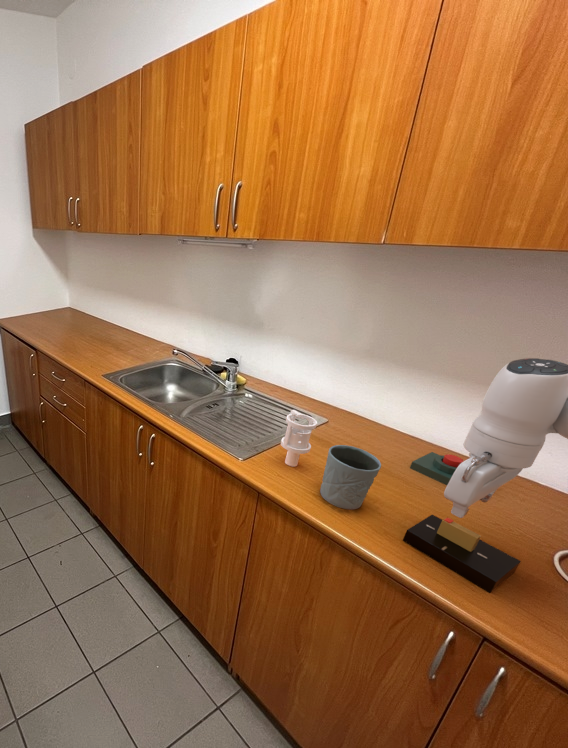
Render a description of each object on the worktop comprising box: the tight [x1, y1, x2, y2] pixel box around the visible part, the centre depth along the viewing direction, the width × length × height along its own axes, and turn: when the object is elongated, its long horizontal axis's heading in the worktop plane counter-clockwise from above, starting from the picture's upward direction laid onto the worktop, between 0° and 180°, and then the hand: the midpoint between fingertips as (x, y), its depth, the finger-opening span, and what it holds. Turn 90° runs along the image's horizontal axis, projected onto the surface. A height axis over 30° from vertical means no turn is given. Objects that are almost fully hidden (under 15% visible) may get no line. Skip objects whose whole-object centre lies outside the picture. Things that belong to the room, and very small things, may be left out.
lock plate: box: [402, 514, 522, 594], centre depth 79 cm, size 14×10×3 cm
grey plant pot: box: [319, 444, 382, 510], centre depth 94 cm, size 10×10×12 cm
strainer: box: [280, 409, 318, 468], centre depth 106 cm, size 7×7×15 cm
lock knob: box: [437, 517, 482, 552], centre depth 79 cm, size 6×2×4 cm, turn 26°
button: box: [442, 453, 464, 467], centre depth 102 cm, size 4×4×2 cm
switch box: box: [409, 451, 457, 486], centre depth 103 cm, size 12×10×4 cm
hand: (470, 506), depth 76 cm, fingers open, 8 cm apart
